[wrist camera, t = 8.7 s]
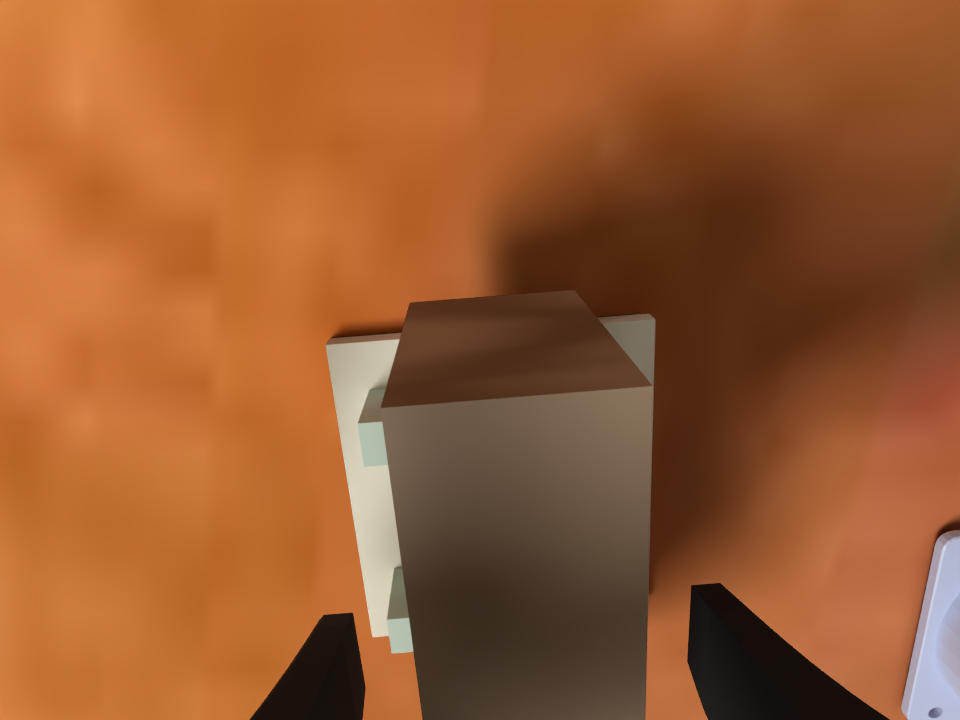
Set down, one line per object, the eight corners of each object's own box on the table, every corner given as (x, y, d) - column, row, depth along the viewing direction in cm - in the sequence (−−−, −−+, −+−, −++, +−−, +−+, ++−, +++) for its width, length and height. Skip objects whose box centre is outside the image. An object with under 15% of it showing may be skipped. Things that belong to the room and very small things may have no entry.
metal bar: (574, 289, 14) (653, 385, 9) (582, 712, 19) (639, 962, 13) (409, 302, 14) (380, 408, 9) (456, 724, 19) (457, 979, 13)
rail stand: (649, 313, 17) (683, 344, 15) (642, 600, 21) (669, 667, 18) (329, 338, 17) (307, 373, 15) (374, 623, 21) (363, 693, 18)
